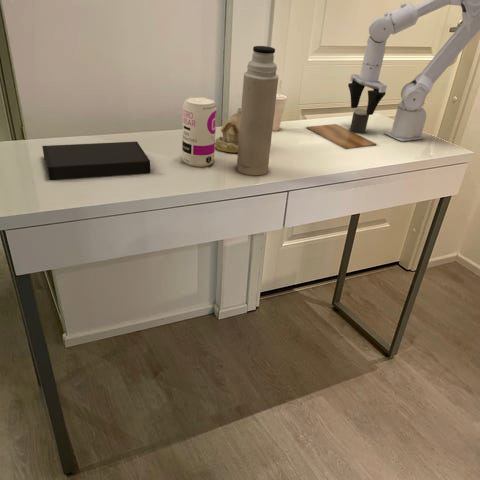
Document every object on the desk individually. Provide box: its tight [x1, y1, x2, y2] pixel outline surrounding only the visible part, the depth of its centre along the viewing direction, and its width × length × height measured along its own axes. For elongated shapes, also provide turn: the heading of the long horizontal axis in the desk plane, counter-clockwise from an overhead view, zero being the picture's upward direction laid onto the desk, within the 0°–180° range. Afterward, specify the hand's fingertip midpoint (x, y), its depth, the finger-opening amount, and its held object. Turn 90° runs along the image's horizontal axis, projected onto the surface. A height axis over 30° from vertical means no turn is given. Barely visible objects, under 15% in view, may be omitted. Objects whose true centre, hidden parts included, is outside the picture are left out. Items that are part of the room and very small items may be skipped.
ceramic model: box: [215, 107, 241, 153], centre depth 139 cm, size 14×11×10 cm
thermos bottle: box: [236, 45, 279, 176], centre depth 120 cm, size 8×8×28 cm
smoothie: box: [272, 80, 288, 132], centre depth 153 cm, size 6×6×14 cm
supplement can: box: [181, 96, 218, 168], centre depth 125 cm, size 8×8×15 cm
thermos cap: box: [349, 108, 370, 134], centre depth 161 cm, size 5×5×6 cm
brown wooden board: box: [306, 123, 377, 150], centre depth 157 cm, size 12×20×1 cm, turn 29°
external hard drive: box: [41, 141, 151, 180], centre depth 121 cm, size 14×23×3 cm, turn 112°
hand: (361, 111), depth 159 cm, fingers open, 7 cm apart
